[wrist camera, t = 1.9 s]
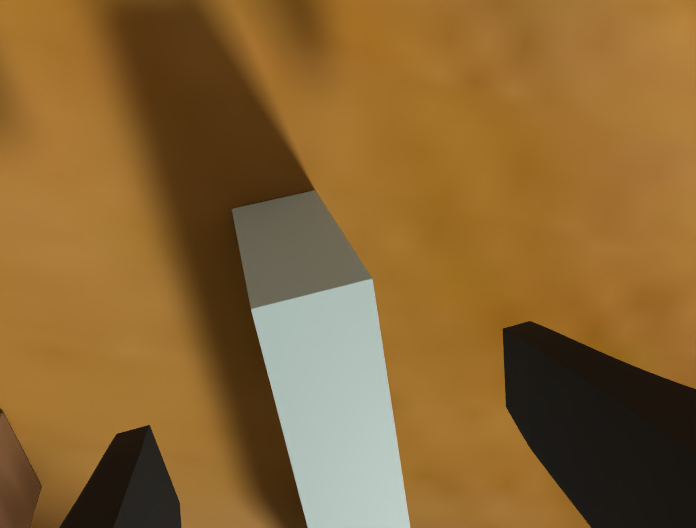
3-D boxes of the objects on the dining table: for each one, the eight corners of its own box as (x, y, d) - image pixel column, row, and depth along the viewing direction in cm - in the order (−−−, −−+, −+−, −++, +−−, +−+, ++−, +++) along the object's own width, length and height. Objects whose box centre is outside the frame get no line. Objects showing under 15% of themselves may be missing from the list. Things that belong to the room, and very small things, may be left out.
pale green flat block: (385, 565, 24) (441, 728, 19) (327, 584, 24) (366, 755, 18) (315, 190, 17) (372, 278, 12) (231, 208, 17) (250, 309, 11)
